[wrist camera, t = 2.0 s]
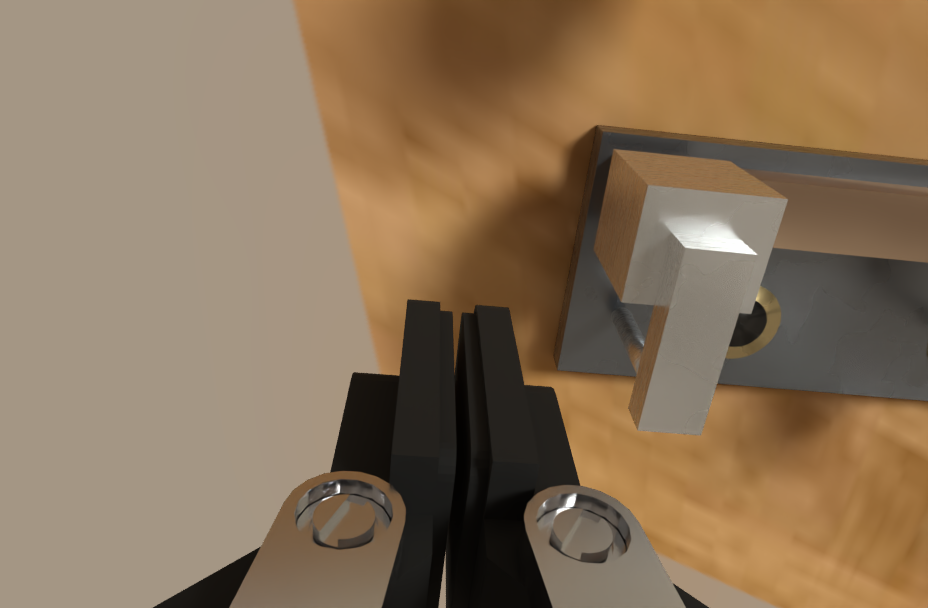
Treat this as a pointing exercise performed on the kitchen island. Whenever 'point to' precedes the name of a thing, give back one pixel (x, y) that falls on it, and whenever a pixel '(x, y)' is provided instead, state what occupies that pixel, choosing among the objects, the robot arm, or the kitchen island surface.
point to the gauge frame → (850, 216)
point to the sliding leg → (682, 273)
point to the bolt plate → (770, 286)
